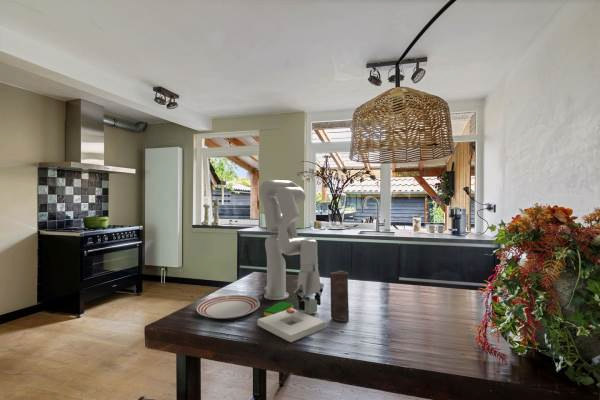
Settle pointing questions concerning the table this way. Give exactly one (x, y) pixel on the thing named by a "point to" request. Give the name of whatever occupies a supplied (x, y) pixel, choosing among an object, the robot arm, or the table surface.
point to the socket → (291, 324)
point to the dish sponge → (278, 308)
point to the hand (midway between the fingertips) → (309, 307)
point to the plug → (310, 305)
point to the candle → (339, 296)
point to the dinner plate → (228, 306)
